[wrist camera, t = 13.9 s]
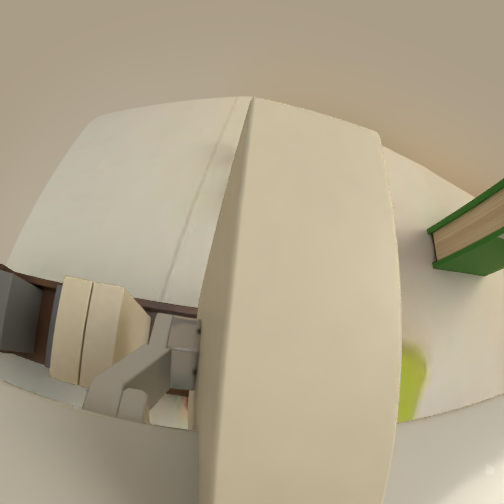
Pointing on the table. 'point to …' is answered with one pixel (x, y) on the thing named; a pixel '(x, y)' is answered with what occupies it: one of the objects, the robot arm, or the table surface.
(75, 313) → the ivory book
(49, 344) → the grey book
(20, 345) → the grey book
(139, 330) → the ivory book
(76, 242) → the table surface
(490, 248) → the hardback book
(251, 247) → the ivory book
